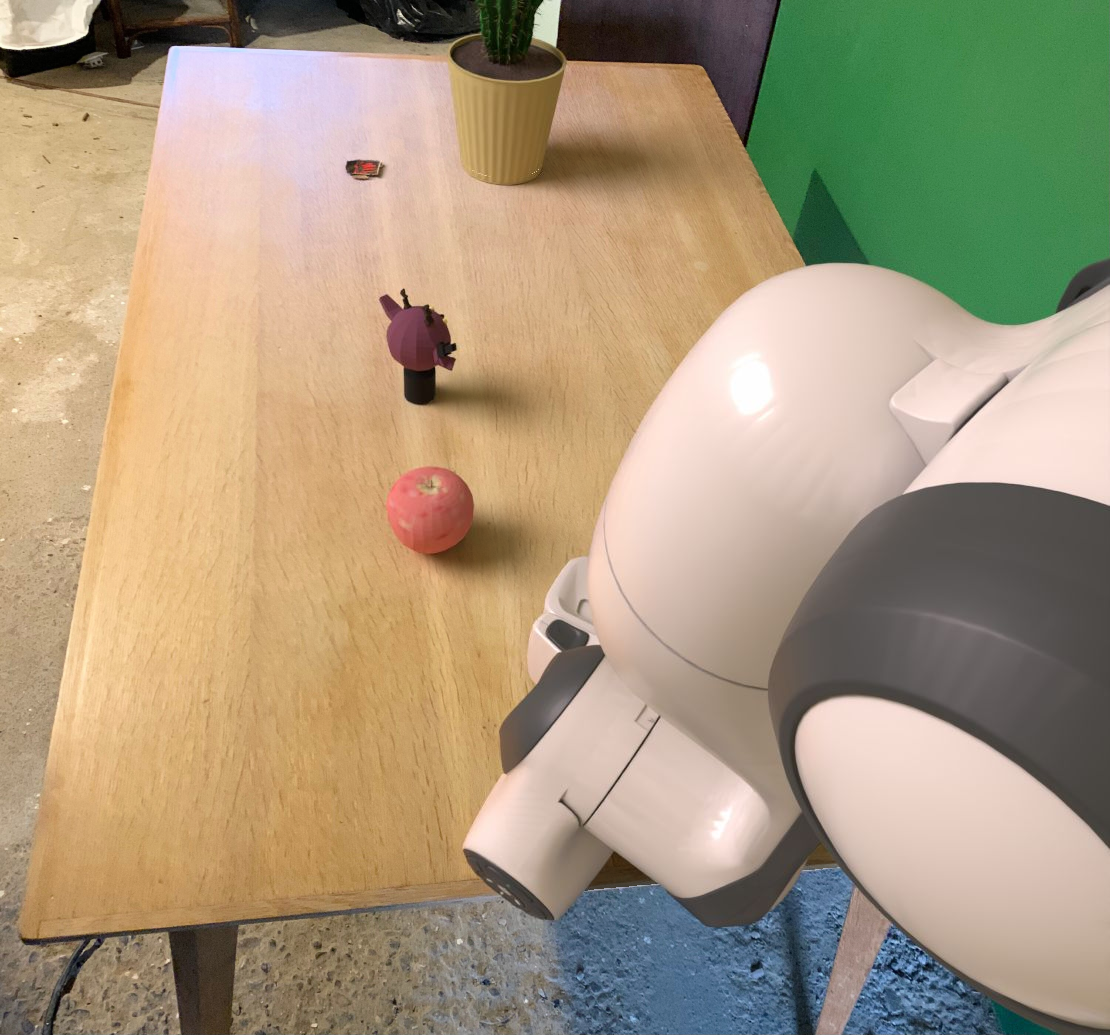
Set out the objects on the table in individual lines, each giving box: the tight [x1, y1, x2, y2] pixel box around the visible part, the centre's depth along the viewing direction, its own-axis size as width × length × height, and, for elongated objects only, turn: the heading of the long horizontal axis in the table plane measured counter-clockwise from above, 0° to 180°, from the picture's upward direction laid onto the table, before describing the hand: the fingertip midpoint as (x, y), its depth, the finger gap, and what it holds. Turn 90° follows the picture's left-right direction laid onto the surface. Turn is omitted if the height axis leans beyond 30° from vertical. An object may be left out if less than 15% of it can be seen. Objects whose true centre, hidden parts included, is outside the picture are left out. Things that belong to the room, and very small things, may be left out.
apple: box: [385, 465, 475, 555], centre depth 82 cm, size 7×7×8 cm
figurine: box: [378, 288, 458, 406], centre depth 94 cm, size 8×8×12 cm
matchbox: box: [345, 158, 384, 180], centre depth 128 cm, size 5×5×1 cm
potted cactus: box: [446, 0, 568, 186], centre depth 121 cm, size 15×15×30 cm
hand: (712, 583), depth 76 cm, fingers closed
